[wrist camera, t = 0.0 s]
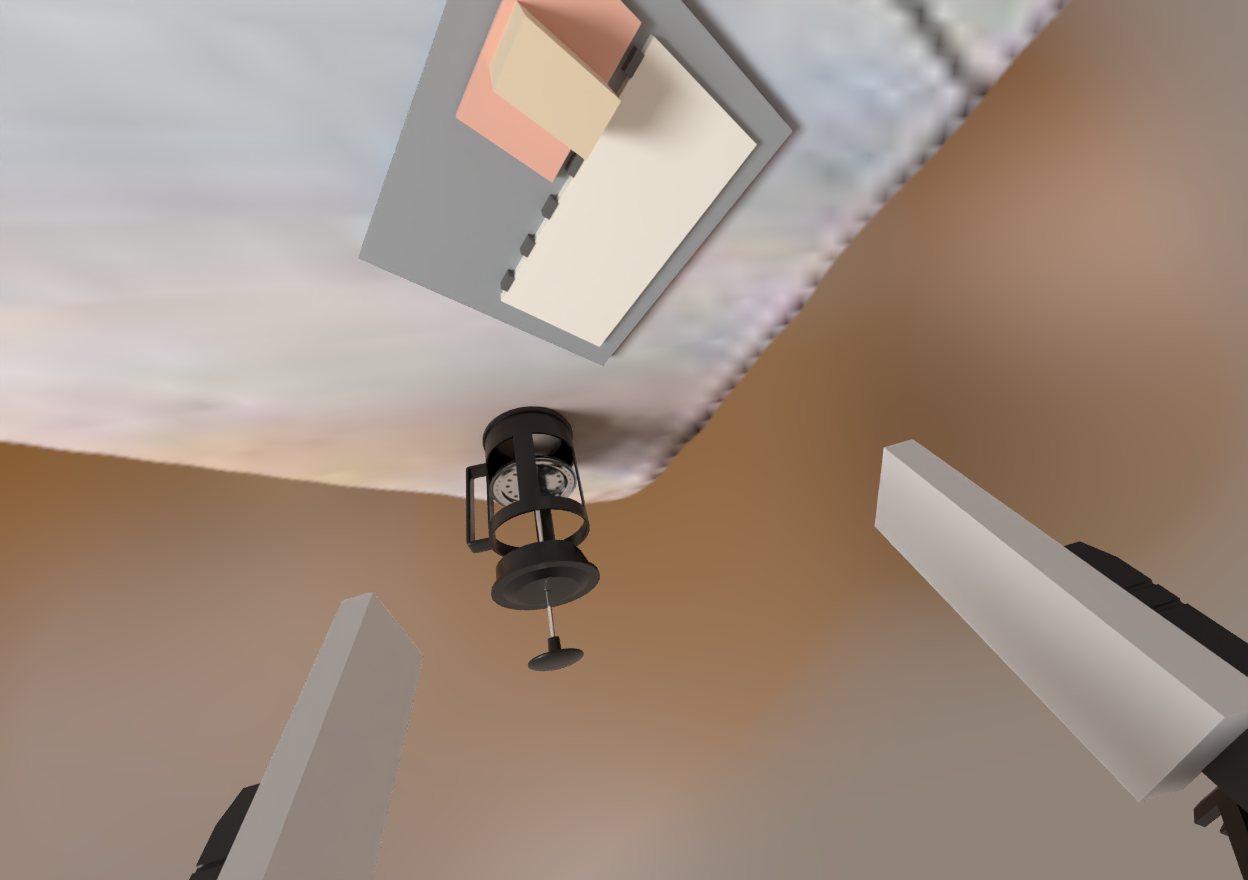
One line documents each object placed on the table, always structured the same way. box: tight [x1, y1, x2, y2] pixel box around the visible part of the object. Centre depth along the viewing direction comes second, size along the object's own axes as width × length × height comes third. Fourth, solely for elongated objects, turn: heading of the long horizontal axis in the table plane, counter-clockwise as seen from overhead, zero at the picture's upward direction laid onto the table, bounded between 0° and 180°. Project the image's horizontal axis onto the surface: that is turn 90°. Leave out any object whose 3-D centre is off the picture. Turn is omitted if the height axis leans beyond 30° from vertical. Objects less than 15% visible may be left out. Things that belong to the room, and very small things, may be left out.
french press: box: [466, 407, 600, 671], centre depth 41 cm, size 12×9×23 cm
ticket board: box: [359, 0, 792, 365], centre depth 30 cm, size 22×20×2 cm
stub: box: [456, 0, 641, 182], centre depth 22 cm, size 9×6×6 cm, turn 142°
